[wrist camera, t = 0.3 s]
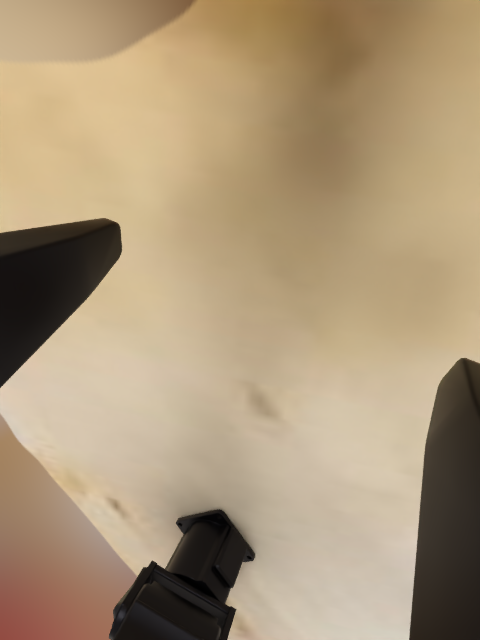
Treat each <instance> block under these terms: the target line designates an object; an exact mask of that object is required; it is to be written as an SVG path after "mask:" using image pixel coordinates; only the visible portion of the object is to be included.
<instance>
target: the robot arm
mask: <svg viewBox="0 0 480 640" xmlns="http://www.w3.org/2000/svg"><path fill="white" fill-rule="evenodd" d="M121 252H122V243H121V229H120V226H119V224H118V223H117V222H114V221H112V220H109V219H106V218H101V219H94V220H87V221H80V222H73V223H66V224H59V225H52V226H45V227H38V228H32V229H25V230H18V231H11V232H4V233H0V388H1V387H2V386H3V385H4V384H5V383H6V381H7V380H8V379H9V378H10V377H11V376H12V375H13V374H14V373H15V372H16V371H17V370H18V369H19V368H20V367H21V366H22V365H23V364H24V363H25V362H26V361H27V360H28V359H29V358H30V357H31V356H32V355H33V354H34V353H35V352H36V351H37V350H38V349H39V348H40V347H41V346H42V345H43V343H44V342H45V341H46V340H47V339H48V338H49V337H50V336H51V335H52V334H53V333H54V332H55V331H56V330H57V329H58V328H59V327H60V326H61V325H62V324H63V323H64V322H65V321H66V320H67V319H68V318H69V317H70V316H71V315H72V314H73V313H74V312H75V311H76V310H77V309H78V308H79V307H80V305H81V304H82V303H83V302H84V301H85V300H86V299H87V298H88V297H89V296H90V295H91V293H92V292H93V291H94V290H95V289H96V287H97V286H98V285H99V283H100V282H101V281H102V280H103V278H104V277H105V276H106V274H107V273H108V272H109V270H110V269H111V268H112V267H113V265H114V264H115V263H116V261H117V260H118V259H119V257H120V255H121ZM176 524H177V526H178V527H179V528H180V530H181V531H182V532H183V534H184V535H183V537H182V538H181V540H180V542H179V544H178V546H177V548H176V550H175V551H174V553H173V555H172V557H171V559H170V561H169V563H168V564H167V566H166V568H165V569H164V568H162V567H160V566H159V565H157V563H156V562H154V561H152V562H151V563H150V565H149V566H148V567H143V569H142V570H141V572H140V574H139V575H138V577H137V579H136V580H135V582H134V584H133V585H132V586H131V588H130V589H129V590H128V591H127V593H126V594H125V595H124V596H123V598H122V599H121V600H120V601H119V602H118V604H117V605H116V606H115V608H114V610H113V614H114V622H113V624H112V629H111V631H110V634H109V639H111V640H227V638H228V635H229V631H230V628H231V625H232V622H233V618H234V615H235V612H236V609H235V608H233V607H229V606H227V605H226V604H225V603H226V600H227V597H228V595H229V592H230V589H231V588H233V587H234V584H235V581H236V579H237V576H238V573H239V570H240V567H241V565H242V562H249V561H253V560H254V558H255V554H254V552H253V551H252V549H251V548H250V547H249V545H248V544H247V543H246V541H245V540H244V539H243V537H242V536H241V535H240V533H239V532H238V530H237V529H236V528H235V526H234V525H233V524H232V522H231V521H230V520H229V518H228V517H227V515H226V514H225V513H224V512H223V511H222V510H214V511H209V512H204V513H200V514H195V515H191V516H186V517H181V518H178V520H177V522H176ZM409 640H480V363H477V362H475V361H472V360H469V359H467V358H461V359H460V360H458V361H457V362H456V363H455V365H454V366H453V367H452V368H451V369H450V370H449V372H448V373H447V374H446V375H445V376H444V377H443V379H442V380H441V382H440V384H439V386H438V390H437V394H436V399H435V403H434V408H433V412H432V417H431V421H430V426H429V430H428V435H427V440H426V445H425V454H424V466H423V479H422V491H421V503H420V515H419V528H418V540H417V552H416V564H415V576H414V589H413V601H412V613H411V625H410V638H409Z"/></svg>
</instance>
